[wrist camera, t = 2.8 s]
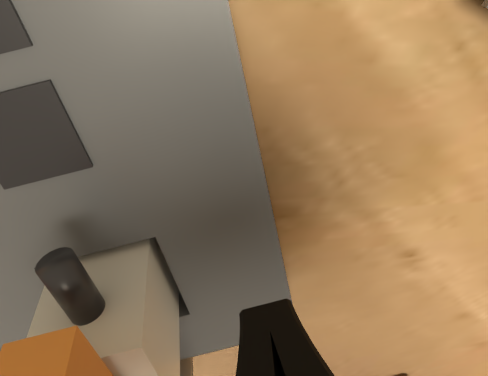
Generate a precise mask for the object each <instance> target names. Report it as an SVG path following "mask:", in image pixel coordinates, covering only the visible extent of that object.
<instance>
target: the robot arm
mask: <svg viewBox="0 0 488 376" xmlns="http://www.w3.org/2000/svg"><path fill="white" fill-rule="evenodd" d="M239 318H240V337H239V352H238V363H237V370H236V376H334V374H333V373H332V372H331V370H330V369H329V367H328V366H327V364H326V363H325V361H324V360H323V358H322V357H321V355H320V354H319V352H318V351H317V349H316V348H315V346H314V344H313V343H312V341H311V339H310V338H309V336H308V334H307V333H306V331H305V329H304V327H303V326H302V324H301V322H300V320H299V318H298V316H297V314H296V312H295V310H294V307H293V305H292V302H291V300H289V299H282V300H278V301H274V302H270V303H266V304H263V305H259V306H255V307H251V308H247V309H243V310H242V311H241V312H240V313H239Z"/></svg>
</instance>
